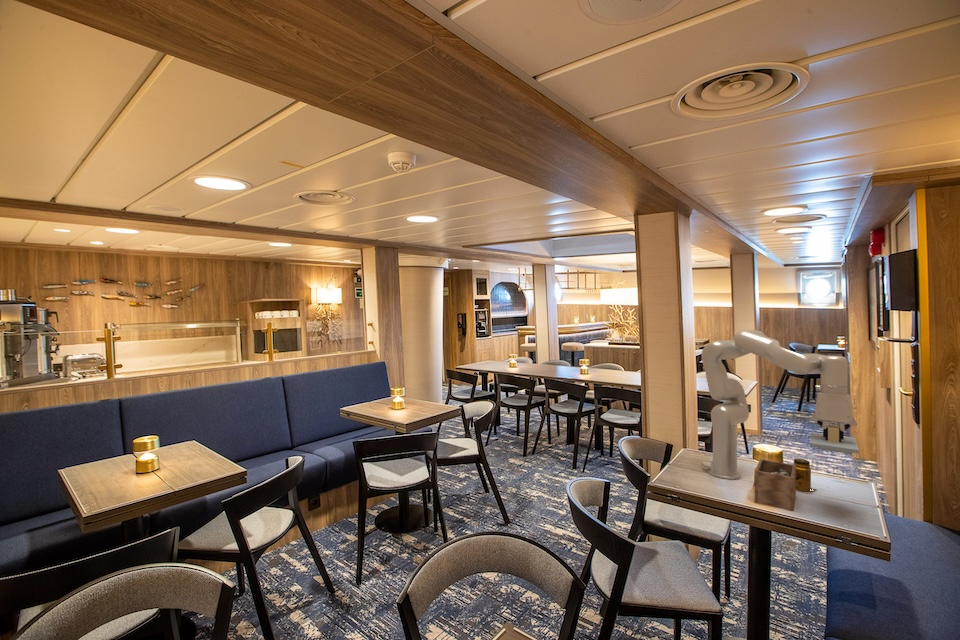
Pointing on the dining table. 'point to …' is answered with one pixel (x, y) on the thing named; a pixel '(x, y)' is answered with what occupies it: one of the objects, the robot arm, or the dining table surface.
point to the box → (775, 485)
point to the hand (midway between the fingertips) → (833, 439)
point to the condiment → (803, 476)
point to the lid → (834, 441)
